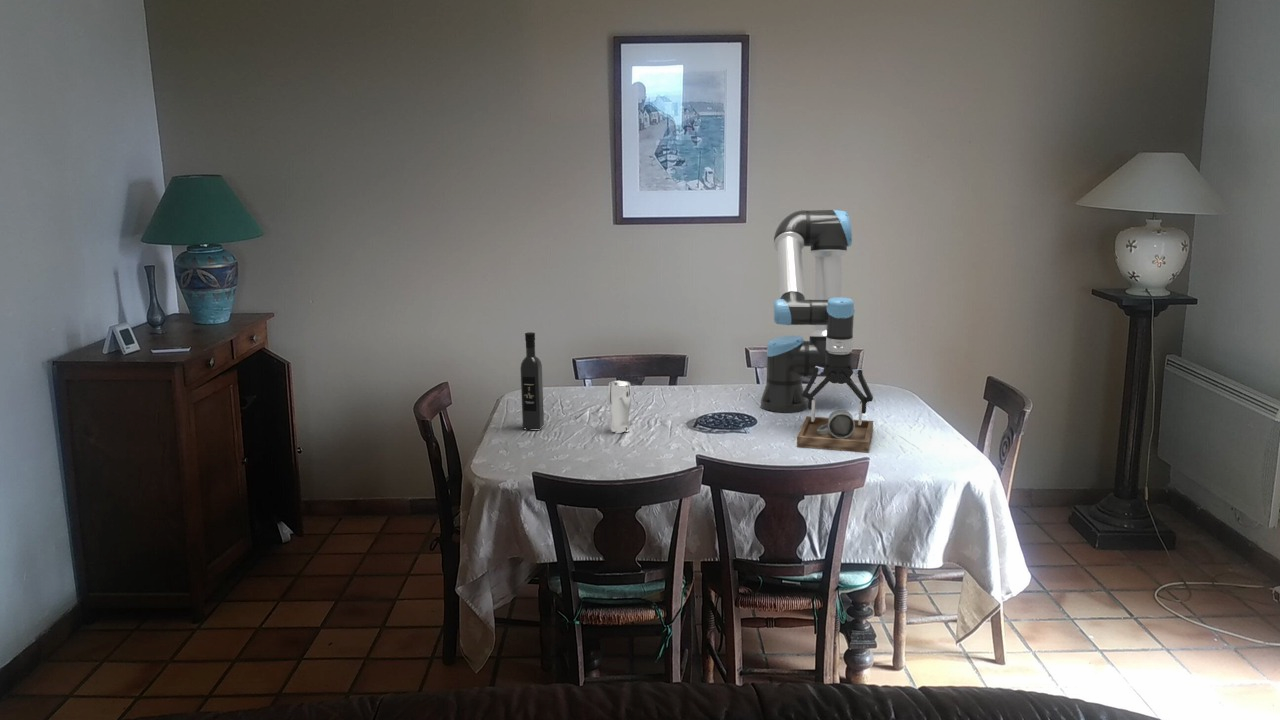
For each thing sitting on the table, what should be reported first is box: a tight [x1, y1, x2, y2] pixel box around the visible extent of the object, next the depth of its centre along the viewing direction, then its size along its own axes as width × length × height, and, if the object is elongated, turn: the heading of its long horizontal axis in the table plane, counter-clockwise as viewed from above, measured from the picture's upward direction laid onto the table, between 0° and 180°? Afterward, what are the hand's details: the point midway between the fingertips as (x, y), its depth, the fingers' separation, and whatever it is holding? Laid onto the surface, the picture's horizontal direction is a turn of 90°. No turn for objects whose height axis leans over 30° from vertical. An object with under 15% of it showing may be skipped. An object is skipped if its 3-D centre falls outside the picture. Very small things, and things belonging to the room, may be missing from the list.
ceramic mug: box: [817, 408, 855, 439], centre depth 275 cm, size 11×8×8 cm
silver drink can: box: [607, 380, 632, 432], centre depth 285 cm, size 7×7×15 cm
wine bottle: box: [519, 331, 545, 430], centre depth 287 cm, size 6×6×30 cm
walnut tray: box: [796, 416, 874, 453], centre depth 276 cm, size 20×22×3 cm
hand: (836, 422), depth 276 cm, fingers open, 13 cm apart
